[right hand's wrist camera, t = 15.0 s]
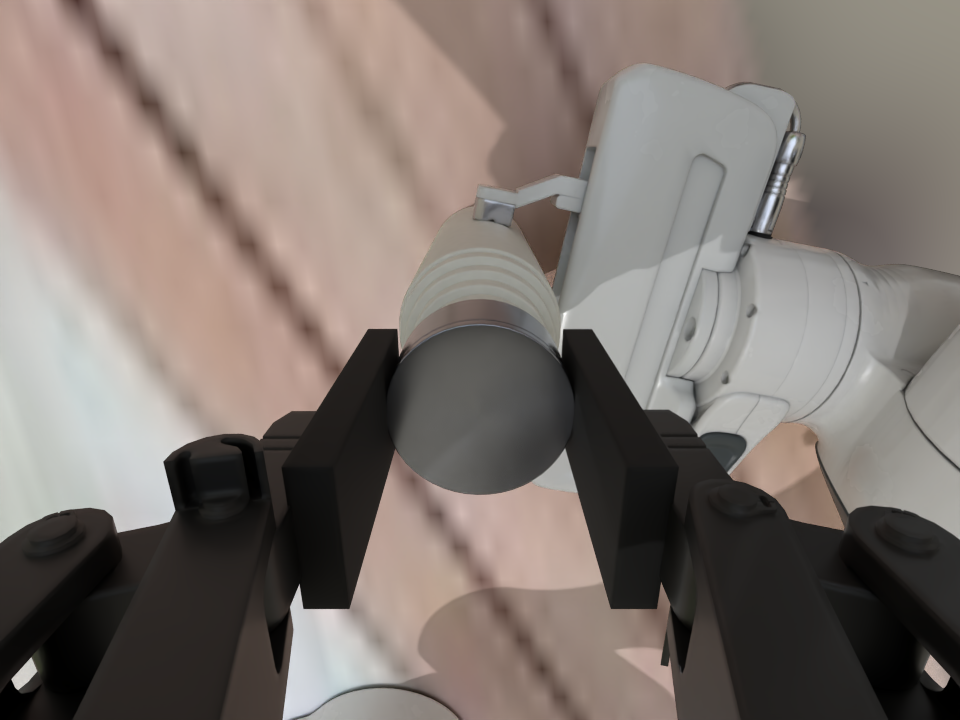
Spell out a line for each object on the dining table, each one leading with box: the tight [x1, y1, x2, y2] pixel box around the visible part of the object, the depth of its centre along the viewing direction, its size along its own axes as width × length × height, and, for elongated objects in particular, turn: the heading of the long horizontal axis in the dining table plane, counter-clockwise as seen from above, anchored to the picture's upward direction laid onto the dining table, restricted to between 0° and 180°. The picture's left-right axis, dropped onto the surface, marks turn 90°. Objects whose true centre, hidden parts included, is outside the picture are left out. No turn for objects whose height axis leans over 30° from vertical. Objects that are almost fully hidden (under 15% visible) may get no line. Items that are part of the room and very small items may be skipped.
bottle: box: [399, 206, 561, 349], centre depth 22 cm, size 6×6×20 cm
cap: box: [386, 299, 575, 495], centre depth 13 cm, size 4×4×2 cm
